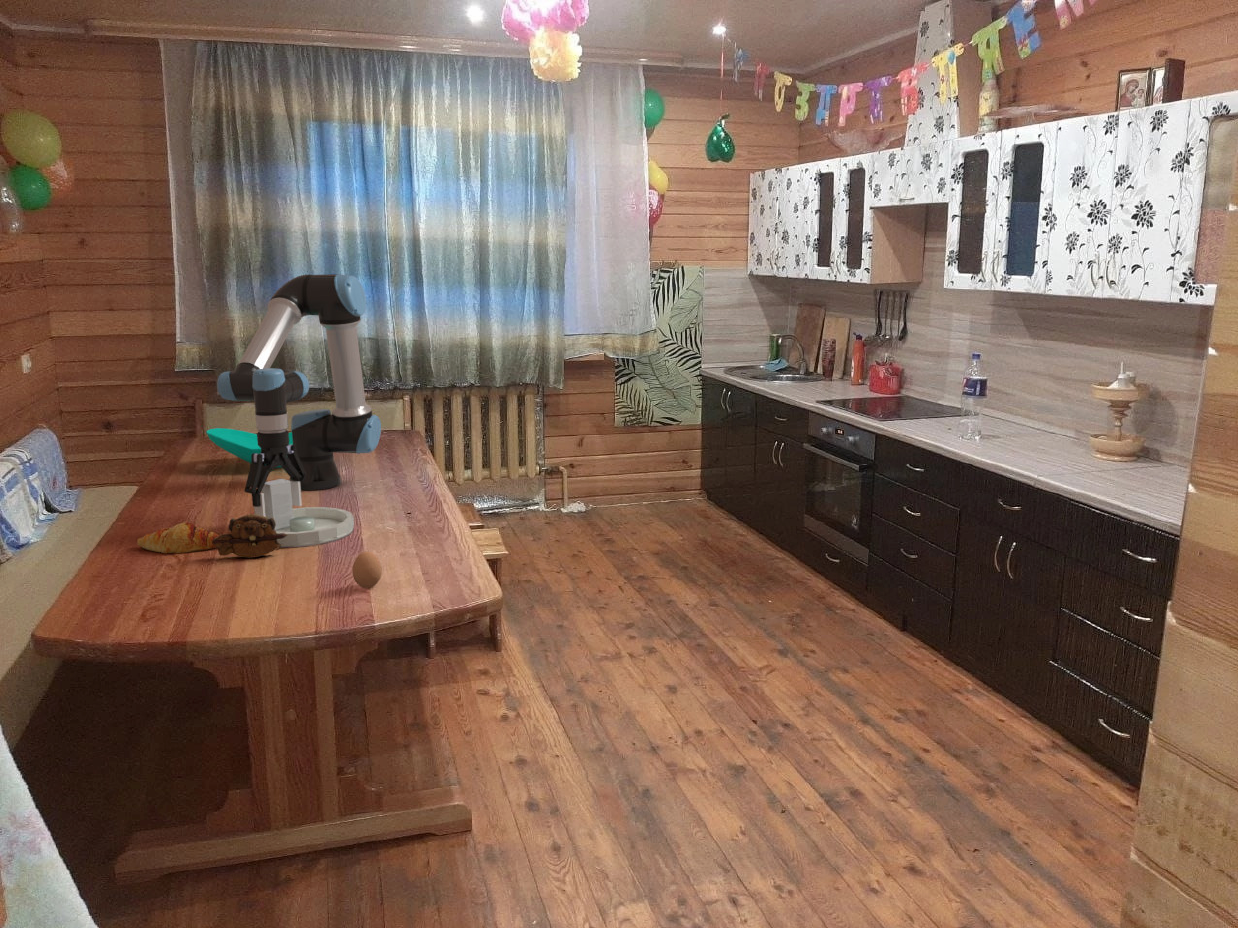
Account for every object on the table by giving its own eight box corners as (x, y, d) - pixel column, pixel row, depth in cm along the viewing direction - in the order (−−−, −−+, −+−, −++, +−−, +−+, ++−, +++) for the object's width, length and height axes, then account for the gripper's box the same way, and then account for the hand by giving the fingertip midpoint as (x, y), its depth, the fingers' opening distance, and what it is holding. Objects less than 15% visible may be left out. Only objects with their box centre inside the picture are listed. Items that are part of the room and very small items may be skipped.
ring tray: (295, 516, 254) (294, 503, 253) (373, 525, 245) (372, 512, 245) (228, 541, 231) (226, 527, 230) (310, 552, 222) (309, 538, 222)
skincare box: (284, 522, 244) (281, 478, 241) (294, 525, 241) (291, 480, 239) (263, 528, 239) (260, 482, 236) (273, 530, 237) (270, 484, 234)
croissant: (134, 566, 223) (122, 542, 218) (148, 536, 231) (137, 513, 226) (223, 563, 224) (214, 539, 219) (235, 534, 232) (226, 510, 226)
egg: (388, 587, 199) (386, 551, 197) (363, 594, 194) (361, 557, 193) (372, 580, 203) (370, 545, 201) (347, 587, 198) (345, 552, 196)
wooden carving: (212, 563, 214) (208, 521, 212) (215, 557, 219) (211, 516, 217) (288, 557, 219) (285, 516, 217) (289, 551, 223) (286, 511, 221)
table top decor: (204, 479, 297) (200, 438, 294) (214, 461, 323) (210, 424, 320) (334, 471, 308) (331, 432, 306) (333, 455, 334) (331, 418, 332)
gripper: (293, 421, 248) (299, 499, 252) (224, 438, 225) (231, 522, 229) (316, 423, 245) (322, 501, 250) (249, 440, 222) (256, 525, 227)
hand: (279, 511), depth 240 cm, fingers open, 13 cm apart
